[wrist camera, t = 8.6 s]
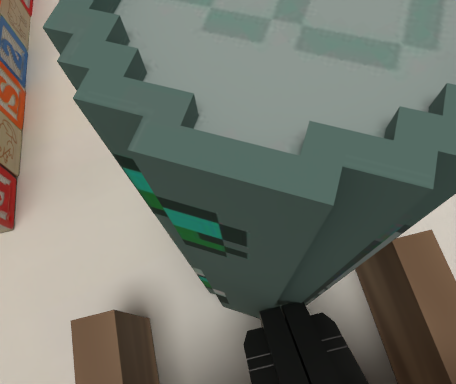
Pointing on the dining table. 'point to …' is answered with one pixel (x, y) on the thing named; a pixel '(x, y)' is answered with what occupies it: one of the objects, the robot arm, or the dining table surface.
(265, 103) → the can
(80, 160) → the dining table surface
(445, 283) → the lane
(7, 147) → the stack of blocks
